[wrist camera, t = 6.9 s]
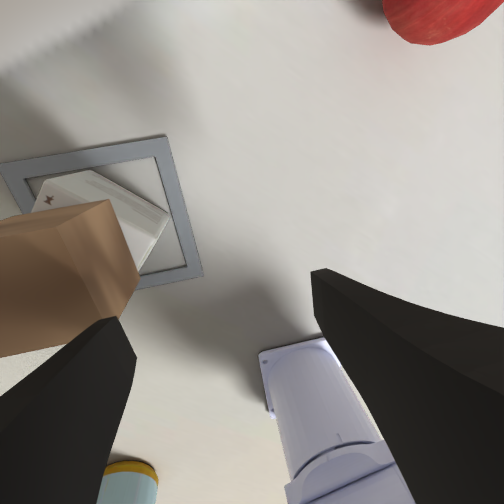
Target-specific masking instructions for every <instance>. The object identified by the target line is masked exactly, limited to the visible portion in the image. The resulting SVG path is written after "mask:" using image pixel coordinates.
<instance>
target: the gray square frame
mask: <svg viewBox="0 0 504 504" xmlns="http://www.w3.org/2000/svg"><path fill="white" fill-rule="evenodd" d="M149 157H156V161H157V164H158V168H159V171H160V175H161V178H162V181H163V185H164V188H165V192H166V195H167V199H168V202H169V205H170V209H171V212H172V216H173V219H174V223H175V226H176V229H177V233H178V236H179V240H180V243H181V247H182V250H183V253H184V257H185V260H186V264H187V267H182V268H177V269H172V270H167V271H162V272H157V273H152V274H147V275H142V276H140V278H141V279H140V281H139V283H138V285H137V286H136V288H135V290H138V289H143V288H148V287H153V286H158V285H163V284H168V283H172V282H177V281H182V280H187V279H192V278H197V277H202V276H204V274H203V270H202V266H201V263H200V259H199V255H198V251H197V248H196V244H195V240H194V236H193V233H192V229H191V225H190V221H189V218H188V214H187V210H186V206H185V202H184V199H183V195H182V191H181V187H180V184H179V180H178V176H177V172H176V169H175V165H174V161H173V157H172V153H171V150H170V146H169V142H168V138H167V137H161V138H155V139H149V140H143V141H137V142H131V143H124V144H118V145H112V146H106V147H100V148H94V149H88V150H81V151H75V152H69V153H63V154H57V155H51V156H44V157H38V158H32V159H26V160H20V161H14V162H8V163H1V164H0V173H1V175H2V177H3V178H4V180H5V182H6V184H7V186H8V188H9V189H10V191H11V193H12V195H13V197H14V199H15V200H16V202H17V204H18V206H19V208H20V210H21V211H22V213H23V214H28V213H31V211H32V209H33V207H34V204H35V201H36V199H35V197H34V195H33V193H32V192H31V190H30V188H29V186H28V184H27V182H26V180H25V178H30V177H36V176H42V175H48V174H54V173H60V172H66V171H72V170H78V169H84V168H90V167H96V166H102V165H107V164H113V163H119V162H125V161H131V160H137V159H143V158H149Z"/></svg>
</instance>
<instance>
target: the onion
mask: <svg viewBox="0 0 504 504" xmlns="http://www.w3.org/2000/svg"><path fill="white" fill-rule="evenodd" d="M503 2H504V0H382V4H383V10H384V14H385V16H386V18H387V20H388V22H389V24H390V26H391V28H392V30H394V31H395V32H396V33H397V34H398V35H399V36H401V37H402V38H403V39H404V40H406V41H408V42H410V43H413V44H422V45H434V44H439V43H443V42H446V41H448V40H451V39H453V38H456V37H458V36H461V35H463V34H466V33H467V32H469V31H470V30H472V29H473V28H475V27H477V26H478V25H480V24H481V23H482V22H483V21H484V20H485V19H486V18H487V17H488V16H489V15H490V14H491V13H493V12H494V11H495V10H496V9H497V8H498V7H499V6H500V5H501V4H502V3H503Z"/></svg>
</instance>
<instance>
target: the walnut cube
mask: <svg viewBox="0 0 504 504" xmlns="http://www.w3.org/2000/svg"><path fill="white" fill-rule="evenodd" d="M140 279H141V278H140V275H139V273H138V270H137V268H136V265H135V263H134V260H133V257H132V255H131V252H130V250H129V247H128V245H127V242H126V240H125V237H124V235H123V232H122V229H121V227H120V224H119V222H118V219H117V217H116V214H115V212H114V209H113V206H112V204H111V201H110V199H106V200H100V201H94V202H89V203H83V204H78V205H72V206H67V207H61V208H56V209H50V210H44V211H39V212H33V213H28V214H22V215H17V216H12V217H9V218H6V219H4V220H1V221H0V358H2V357H7V356H11V355H16V354H21V353H26V352H30V351H35V350H40V349H44V348H49V347H54V346H58V345H63V344H68V343H69V342H70V341H71V340H73V339H74V338H75V337H76V336H78V335H79V334H80V333H81V332H83V331H84V330H85V329H87V328H88V327H89V326H91V325H92V324H93V323H95V322H96V321H98V320H100V319H104V318H109V317H113V316H117V318H118V319H119V317H120V316H121V314H122V312H123V310H124V308H125V307H126V305H127V303H128V301H129V299H130V297H131V296H132V294H133V292H134V290H135V288H136V286H137V285H138V283H139V281H140Z"/></svg>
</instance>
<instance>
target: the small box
mask: <svg viewBox="0 0 504 504" xmlns="http://www.w3.org/2000/svg"><path fill="white" fill-rule="evenodd" d="M106 199H110V201H111V204H112V206H113V209H114V212H115V214H116V217H117V219H118V222H119V224H120V227H121V229H122V232H123V235H124V237H125V240H126V242H127V245H128V247H129V250H130V252H131V255H132V257H133V260H134V263H135V265H136V268H137V270H138V272H139V270H140V268H141V267H142V265H143V264H144V262H145V260H146V259H147V257H148V256H149V254H150V252H151V251H152V249H153V247H154V246H155V244H156V242H157V240H158V238H159V237H160V235H161V233H162V231H163V229H164V228H165V226H166V224H167V222H168V220H169V219H170V216H169V214H168V213H166V212H164V211H163V210H161V209H159V208H158V207H156V206H154V205H153V204H151V203H149V202H147V201H146V200H144V199H142V198H140V197H139V196H137V195H135V194H133V193H132V192H130V191H128V190H126V189H124V188H123V187H121V186H119V185H117V184H116V183H114V182H112V181H110V180H109V179H107V178H105V177H103V176H101V175H100V174H98V173H96V172H94V171H92V170H87V171H82V172H78V173H73V174H68V175H64V176H60V177H55V178H51V179H46V180H45V181H44V182H43V184H42V187H41V189H40V192H39V194H38V197H37V199H36V201H35V204H34V207H33V209H32V211H31V213H33V212H39V211H44V210H50V209H56V208H61V207H67V206H72V205H78V204H83V203H89V202H94V201H100V200H106Z"/></svg>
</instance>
